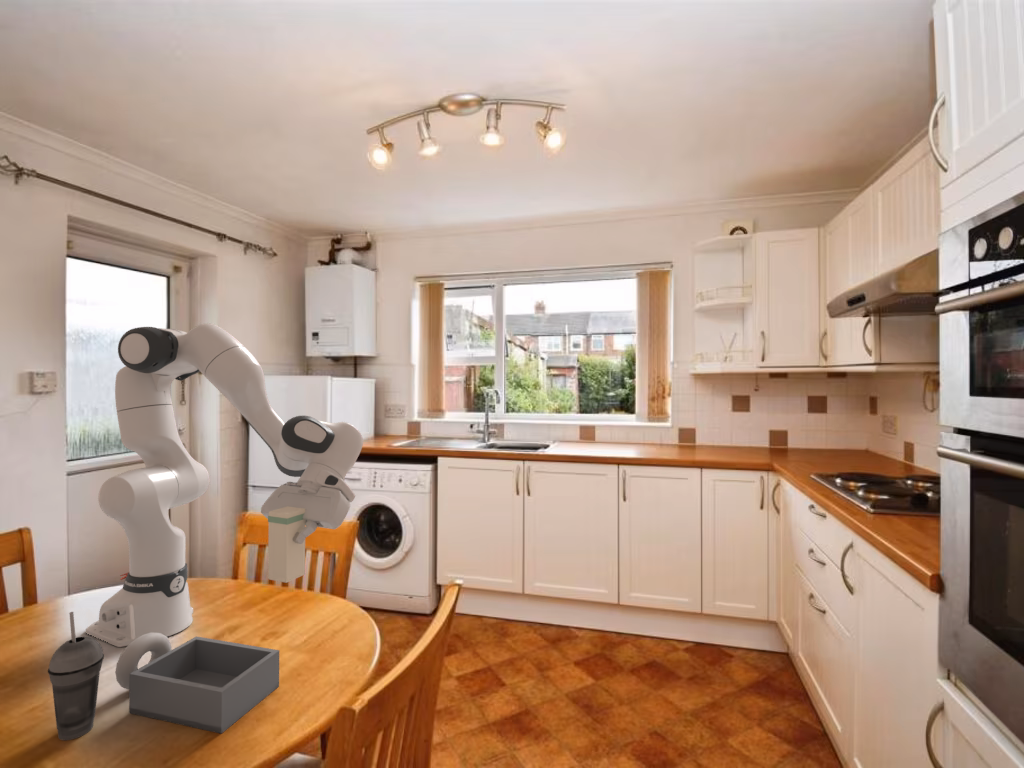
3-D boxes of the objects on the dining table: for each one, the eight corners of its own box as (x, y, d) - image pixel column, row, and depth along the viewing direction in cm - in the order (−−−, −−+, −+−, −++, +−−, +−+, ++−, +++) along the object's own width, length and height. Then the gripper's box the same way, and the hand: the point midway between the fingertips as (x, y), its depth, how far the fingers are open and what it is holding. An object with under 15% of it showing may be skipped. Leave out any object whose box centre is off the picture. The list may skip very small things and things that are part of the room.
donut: (122, 703, 94) (123, 649, 94) (110, 699, 95) (111, 645, 95) (175, 674, 103) (176, 625, 103) (163, 670, 105) (164, 622, 105)
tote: (129, 712, 91) (129, 673, 91) (196, 670, 105) (196, 636, 105) (221, 733, 86) (221, 692, 86) (279, 686, 100) (279, 650, 100)
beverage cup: (70, 749, 82) (72, 625, 82) (34, 742, 84) (36, 620, 84) (114, 720, 89) (115, 605, 89) (80, 714, 91) (81, 601, 91)
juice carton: (267, 579, 106) (267, 511, 106) (286, 570, 111) (287, 506, 111) (286, 583, 104) (287, 514, 104) (305, 574, 109) (306, 508, 109)
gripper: (276, 473, 118) (239, 526, 109) (348, 480, 110) (314, 538, 101) (291, 489, 122) (256, 541, 113) (361, 497, 114) (330, 554, 105)
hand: (284, 540), depth 107 cm, fingers closed on juice carton, 5 cm apart
